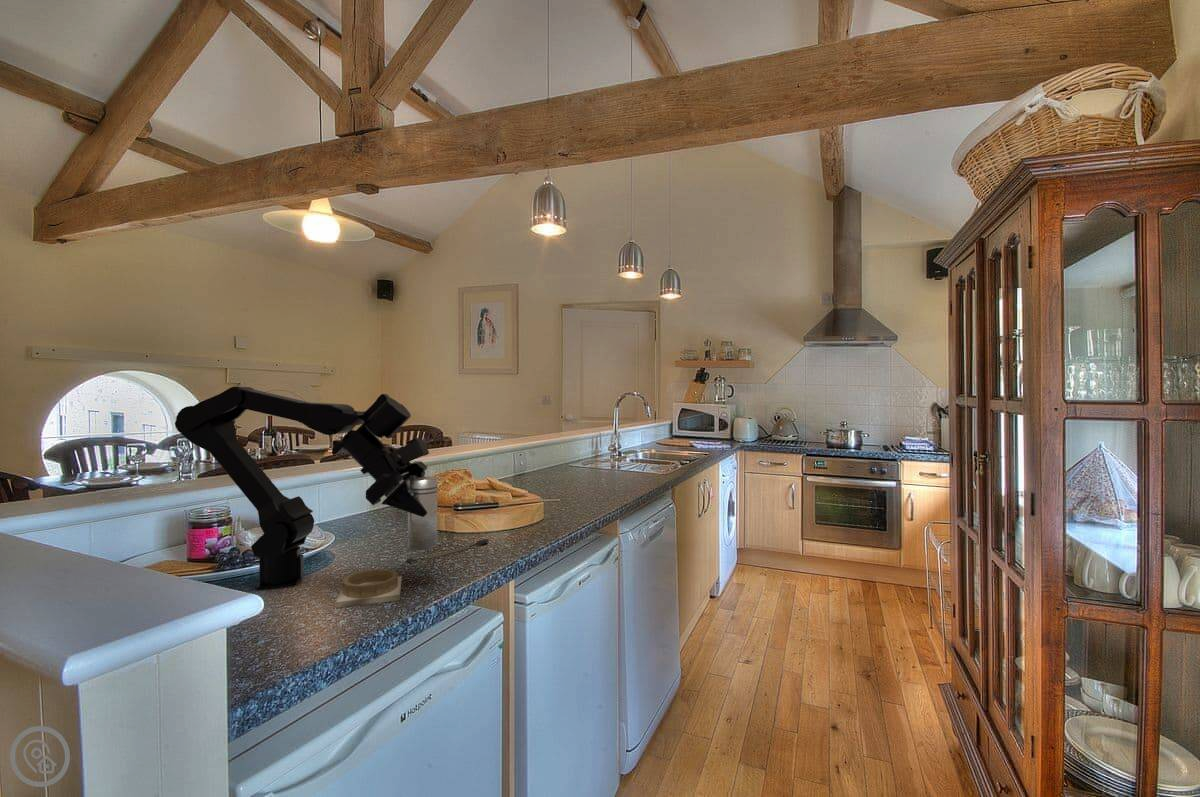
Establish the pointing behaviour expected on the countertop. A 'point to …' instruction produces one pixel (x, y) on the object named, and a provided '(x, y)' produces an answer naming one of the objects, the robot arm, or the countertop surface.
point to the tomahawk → (453, 550)
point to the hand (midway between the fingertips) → (430, 511)
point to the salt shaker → (425, 528)
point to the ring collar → (369, 588)
